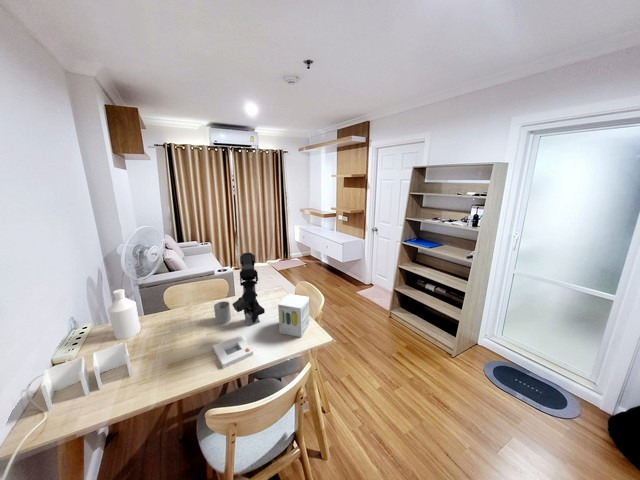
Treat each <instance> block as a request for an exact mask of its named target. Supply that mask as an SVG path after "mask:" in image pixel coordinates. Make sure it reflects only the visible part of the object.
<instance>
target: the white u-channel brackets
mask: <svg viewBox="0 0 640 480" xmlns="http://www.w3.org/2000/svg"><path fill="white" fill-rule="evenodd" d="M92 355H93V356H92V367H93V371H94V375H95V378H96V382H97V386H98V390H99V389H100V388H103V389H104V386H103V383H102V379H101V374H100V373H102V372H105V371H107V370H110V369H112V370H114V369H113V368H115V369H117V368H119V366H120V367H122V365H123V366H125V365H126V367H127V371H128V376H129V377H130V376H132V377H134V374H133V369H132V364H131V359H130V355H129V350H128V346H127V342H126V341H124V342H121V343H118V344H115V345H112V346H109V347H106V348H104V349H100V350H98V351H94V352H92ZM124 364H125V365H124ZM116 367H117V368H116ZM110 371H111V370H110ZM107 372H108V371H107ZM105 373H106V372H105ZM102 374H103V373H102ZM89 378H90V374H89V370H88V368H87V364H86V361H85V357H84V356H80V357H77V358H74V359H71V360H69V361H64V362H62V363H59V364H57V365H54V366H50V367H48V368H45V369H44V371H43V376H42V379H41V383H40V389H41V392H42V395H43V398H44V400H45V403H46V407H47V410H48V411H49V410H50V409H53V410H54V406H53V399H52V397H53V398H54V394H53V392H54V391H56V392H58V391H60V390H59V389H61V388H63V389H65V388H64V387H66V388H68V387H67V386H69V385H71V386H73V385H72V384H74V383H76V384H78V383H77V382H79V381H81V382H79V383H81V385H82V389H83V393H84V396H85V395H86V394H88V393H89V394H90V380H89ZM74 385H75V384H74ZM69 387H70V386H69ZM57 390H58V391H57ZM61 390H62V389H61ZM54 393H55V392H54ZM86 396H87V395H86Z"/></svg>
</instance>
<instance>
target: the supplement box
mask: <svg viewBox="0 0 640 480" xmlns="http://www.w3.org/2000/svg"><path fill="white" fill-rule="evenodd" d="M277 305H278V309H277V310H278V326H279V330H278V331H279V334H282V335H288V336H292V337H298V338H302V337H303V336H304V334H305V333H306V331H307V329H308V328H309V326H310V325H311V324H310V296H306V295H299V294H293V293H287V295H285V297H284V298H282V300H281V301H280V302H279V303H278V304H277ZM304 332H305V333H304Z"/></svg>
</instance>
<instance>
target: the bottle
mask: <svg viewBox="0 0 640 480" xmlns="http://www.w3.org/2000/svg"><path fill="white" fill-rule="evenodd" d="M125 292H126V291H125V289H124V288H120V289H115V290H113V293H112V294H113V295H114V298H115V300H114V301H113V302H112V304H111V305H109V307H108V309H107V312H108V315H109V320H110V325H111V328H112V331H113V335H114V338H115V339H116V338H117V339H116V340H119V339H122V340H127V339H130V338H133V337H134V335H135V336H136V334H137V333H138V334H140V332H141V331H140V330H142V328H141V322H140V318H139V317H140V316H139V313H138V307H137V302H136V301H135V300H132V299H130V298H127V297H125V296H126V295H125ZM138 334H137V335H138ZM132 336H133V337H132ZM129 337H130V338H129ZM126 338H127V339H126Z"/></svg>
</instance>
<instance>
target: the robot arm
mask: <svg viewBox="0 0 640 480" xmlns="http://www.w3.org/2000/svg"><path fill="white" fill-rule="evenodd" d="M239 261H240V262H239V263H240V265H241V268H240V271H239V281H240V286H241V287H242V295H241V296H240V297H238V299H237V300H236V301H234V302H233V303H232V307H233V309H234V311H236V312H237V313H240V312H242V311H243V315H244V316H245V314H247V313H249V314H250V315H251V318H252V322H253V323H255V321H256V319H257V317H258V318H259V316H261V315H263V314H265V312H266V311H265V309H266V308H264V307H263V306H261V305H260V304H259V301H258V300H257V297H258V293H257V291H256V285H258V282H259V275H258V271H257V270H256V269H255V264H256V254H253V253H252V252H243V253H242V255H240V256H239ZM260 322H261V320H259V323H260Z"/></svg>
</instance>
